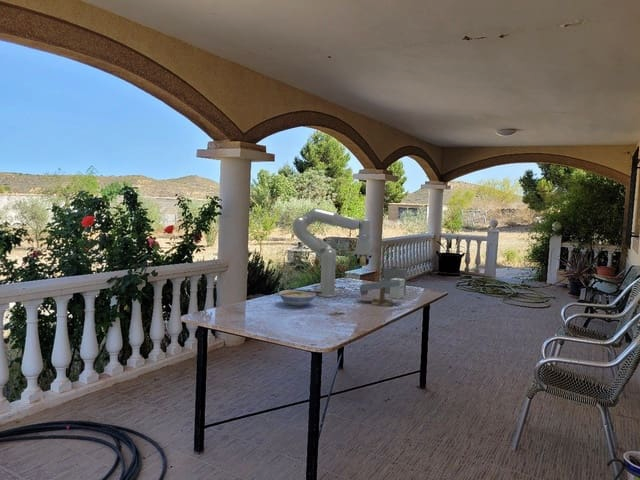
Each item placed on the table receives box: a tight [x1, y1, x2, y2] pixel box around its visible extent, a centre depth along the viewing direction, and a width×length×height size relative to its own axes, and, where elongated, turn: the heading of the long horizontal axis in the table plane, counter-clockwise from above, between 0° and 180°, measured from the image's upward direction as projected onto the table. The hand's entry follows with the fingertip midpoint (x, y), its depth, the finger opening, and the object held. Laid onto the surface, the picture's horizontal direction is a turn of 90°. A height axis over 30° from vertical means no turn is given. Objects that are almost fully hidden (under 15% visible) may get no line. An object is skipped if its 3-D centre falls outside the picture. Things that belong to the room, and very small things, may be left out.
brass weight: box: [358, 254, 368, 267], centre depth 309 cm, size 5×5×7 cm
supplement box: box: [389, 278, 405, 300], centre depth 311 cm, size 7×7×13 cm
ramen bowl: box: [278, 288, 322, 307], centre depth 279 cm, size 25×23×8 cm
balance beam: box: [359, 279, 400, 296], centre depth 292 cm, size 25×10×5 cm, turn 80°
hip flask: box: [383, 264, 408, 295], centre depth 326 cm, size 16×4×20 cm, turn 69°
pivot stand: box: [371, 287, 393, 308], centre depth 292 cm, size 12×18×11 cm, turn 170°
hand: (362, 264), depth 309 cm, fingers closed on brass weight, 5 cm apart
